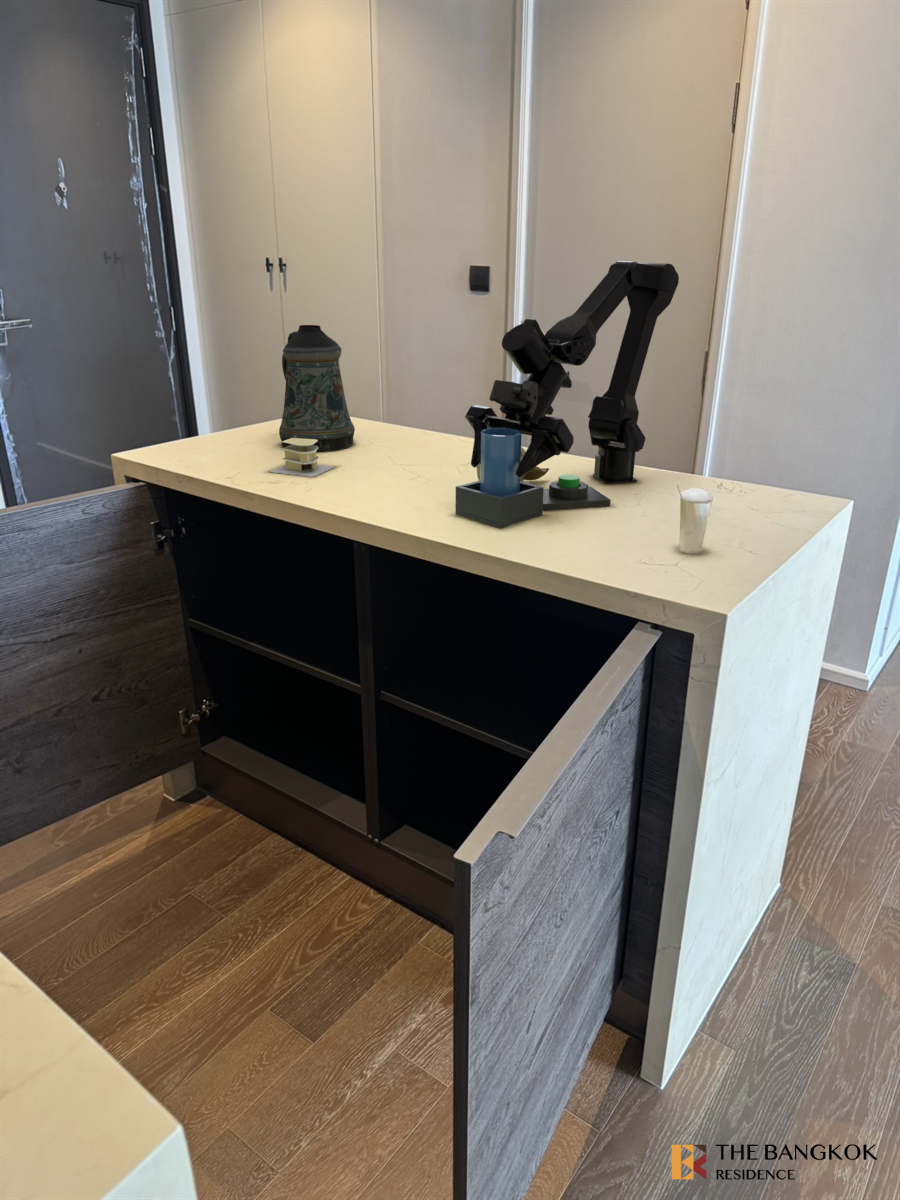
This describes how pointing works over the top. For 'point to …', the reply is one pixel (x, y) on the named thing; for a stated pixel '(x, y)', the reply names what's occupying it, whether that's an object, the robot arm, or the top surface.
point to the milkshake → (693, 518)
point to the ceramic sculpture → (530, 475)
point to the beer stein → (314, 391)
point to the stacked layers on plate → (301, 458)
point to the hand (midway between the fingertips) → (494, 470)
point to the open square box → (499, 504)
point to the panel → (572, 497)
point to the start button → (569, 481)
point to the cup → (500, 461)
